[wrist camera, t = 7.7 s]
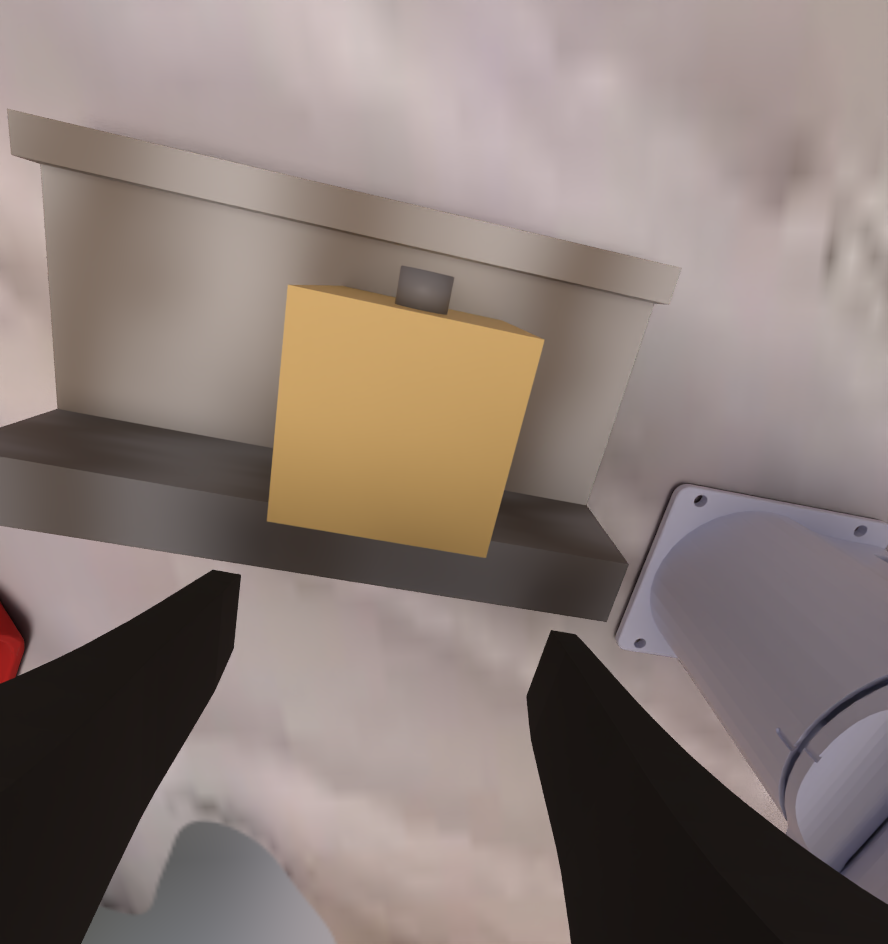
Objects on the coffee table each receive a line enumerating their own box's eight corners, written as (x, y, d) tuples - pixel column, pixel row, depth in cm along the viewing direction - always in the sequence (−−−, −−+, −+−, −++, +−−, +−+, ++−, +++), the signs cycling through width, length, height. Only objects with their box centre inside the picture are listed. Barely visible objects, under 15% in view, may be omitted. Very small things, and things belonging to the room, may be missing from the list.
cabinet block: (508, 293, 15) (556, 297, 9) (467, 468, 17) (485, 557, 11) (345, 257, 14) (291, 238, 9) (322, 441, 16) (266, 521, 11)
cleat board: (639, 271, 17) (745, 263, 11) (557, 528, 20) (606, 622, 14) (86, 142, 15) (-121, 54, 9) (98, 447, 18) (-47, 518, 13)
